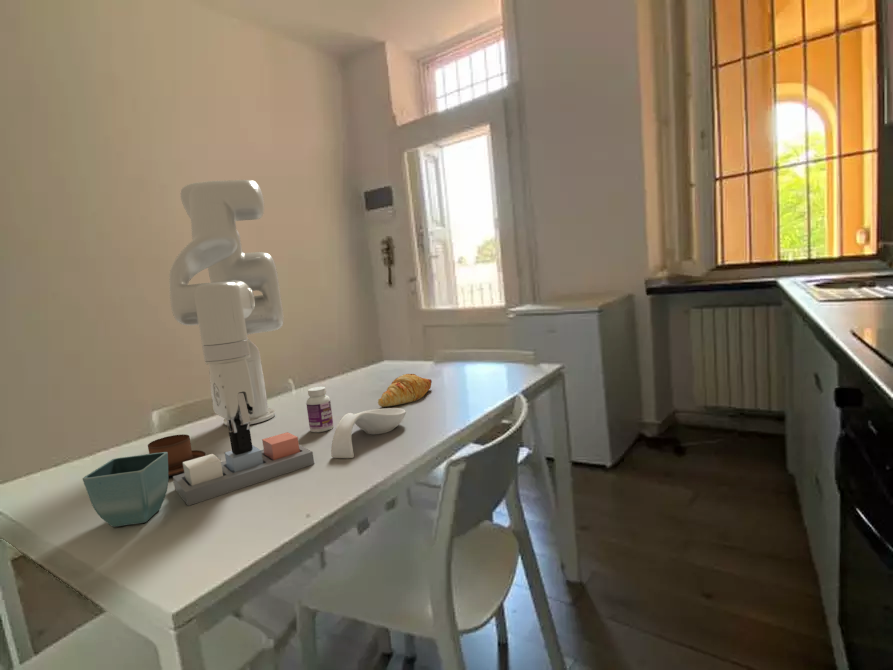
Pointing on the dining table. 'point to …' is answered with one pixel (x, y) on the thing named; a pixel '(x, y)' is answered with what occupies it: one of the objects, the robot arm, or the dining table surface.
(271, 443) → the key red
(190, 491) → the grey flat tray
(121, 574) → the dining table surface
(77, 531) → the dining table surface
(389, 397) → the croissant
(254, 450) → the key blue
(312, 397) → the pill bottle
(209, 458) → the key white
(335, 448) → the spoon rest
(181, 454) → the cup and saucer
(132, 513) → the flower pot
